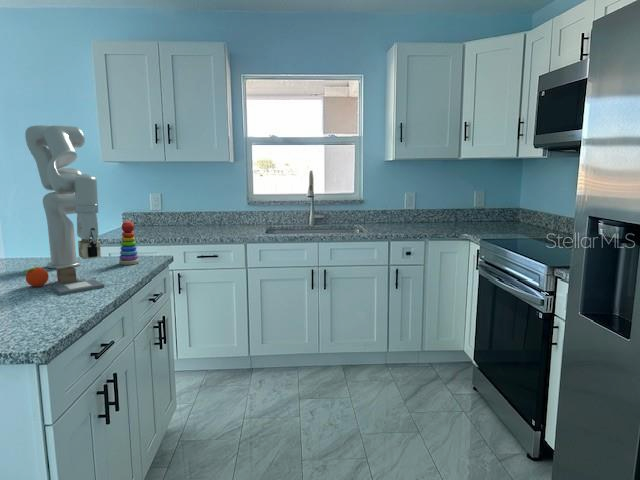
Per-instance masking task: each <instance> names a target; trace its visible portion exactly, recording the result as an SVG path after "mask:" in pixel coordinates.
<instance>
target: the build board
mask: <svg viewBox="0 0 640 480" xmlns="http://www.w3.org/2000/svg"><path fill="white" fill-rule="evenodd" d="M101 288H105V284H104V283H102V282H100V281H98V280H96V279H88V280H83V281H77V282H70V283H64V284H58V285H53V286H51V290H52V291H54V292H55V293H57V294H58V295H60V296H64V295H70V294H74V293H75V294H76V293H80V292H86V291H92V290H97V289H101Z"/></svg>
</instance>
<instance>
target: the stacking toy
mask: <svg viewBox="0 0 640 480" xmlns="http://www.w3.org/2000/svg"><path fill="white" fill-rule="evenodd" d="M134 229H135V225H134V223H133V222H132V221H129V220H126V221H124V222H123V223H122V224H121V230H122V233H121V239H120V241H121V243H120V244H121V246H120V252H119V254H120V255H119V260H118V261H119V264H120V265H122V266H127V265H128V266H129V265H137V264H139V261H140V260H139V255H138V250H137V246H136V245H137V242H136V241H135V240H136V238H135V237H134V236H135V232H134Z"/></svg>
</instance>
